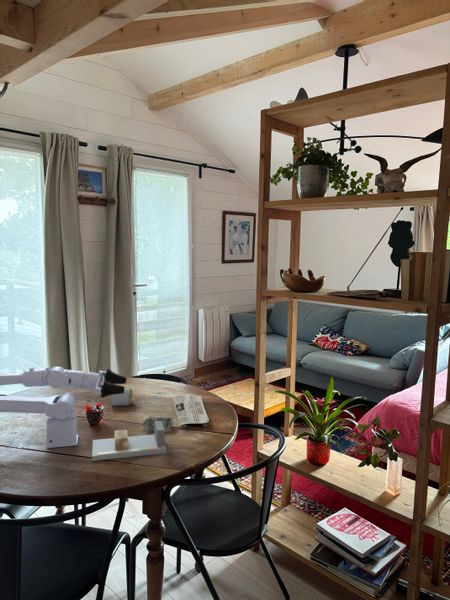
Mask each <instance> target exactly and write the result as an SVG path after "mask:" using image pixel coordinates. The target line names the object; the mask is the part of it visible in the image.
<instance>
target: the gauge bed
mask: <svg viewBox="0 0 450 600" xmlns="http://www.w3.org/2000/svg"><path fill="white" fill-rule="evenodd" d="M153 433H154V434H146V435H145V434H144V435H134V436H128V449H123V451H121V449H118V450H115V437H113V438H111V437H110V438H101V439H93V440H92V448H91V449H92V453H91V458H92V459H91V461H92V462H94V461H103V460H114V459H123V458H133V457H141V456H149V455H160V454H161V455H162V454H167V447H166V443H165V441H166V440H165V439H166V437H165V435H166V434H165V433H166V432H165V429H164V427H163V424H162V421H154V431H153Z"/></svg>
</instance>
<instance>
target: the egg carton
mask: <svg viewBox="0 0 450 600" xmlns="http://www.w3.org/2000/svg"><path fill="white" fill-rule="evenodd" d="M154 421H162V424H163V427H164V429H165V433H168V432H171V431H172V428H173V425H174V424H173V421H174V416H169V417H167V416H166V417H164V416H161V417H159V416H157V417H156V416H153V415H151V416H148V417H146V418H145V420H143V421H142V424H143V427H142V428H143V431H144V432H146V433H147V432H148V433H150V432H152V431H153V432H154Z"/></svg>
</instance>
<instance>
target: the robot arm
mask: <svg viewBox="0 0 450 600" xmlns="http://www.w3.org/2000/svg"><path fill="white" fill-rule="evenodd" d="M126 383H127V377H126V376H124V375H121V374H119V373H118V374H117V373H116V372H115V371H114V372H113V371H112V370H111V369H110V368H107V369H106V371H105V370H99V371H98V372H93V371H92V372H91V371H84V370H83V371H82V370H74V369H67V368H66V369H65V368H64V367H63V366H59V365H54V366H52V367H51V368H50V366H47V367H45V368H35V367H34V366H33V367H32V366H31V367H29V369H25V370H24V371H23V372H22V373H21V372H20V373H18V372H17V373H12V372H11V373H10V372H8V373H3V372H2V373H0V387H1V386H10V385H11V386H12V385H19V384H20V385H22V386H24V387H25V388H35V387H47V386H49V387H52V389H58V388H60V387H64V388H65V387H67V388H72V389H80V390H81V389H83V390H87V391H88V390H91V391H94V395H100V398H105V397H108V396H111V395H114V394H122V393H124V389H125V388H126V386H123V385H126ZM77 401H78V400H77V398H76V396H75V395H73V394H71V393H70V392H69V393H63V394H59V395H52V396H48V397H44V396H43V397H42V396H41V397H40V396H15V395H0V413H11V414H12V413H14V414H17V413H18V414H44V415H46V416H47V417H48V418H47V420H46V449H53V448H65V447H72V446H73V447H75V446H78V442H79V434H77V413H76V412H75V411H76V410H74V409H75V407H76V406H77Z"/></svg>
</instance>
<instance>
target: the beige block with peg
mask: <svg viewBox="0 0 450 600" xmlns="http://www.w3.org/2000/svg"><path fill="white" fill-rule="evenodd" d="M128 437H129V435H128V429H119V430H118V429H117V430H114V438H115V450H118V449H121V451H123V449H128Z"/></svg>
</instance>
